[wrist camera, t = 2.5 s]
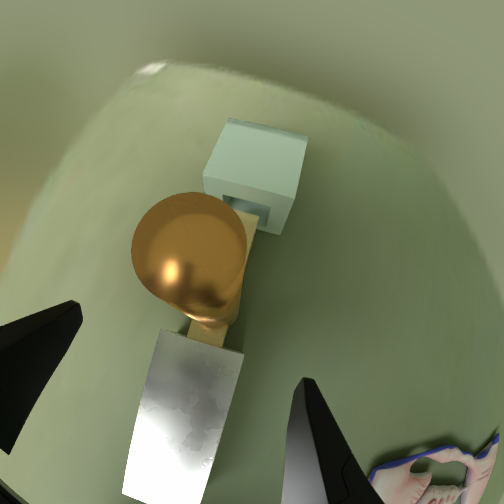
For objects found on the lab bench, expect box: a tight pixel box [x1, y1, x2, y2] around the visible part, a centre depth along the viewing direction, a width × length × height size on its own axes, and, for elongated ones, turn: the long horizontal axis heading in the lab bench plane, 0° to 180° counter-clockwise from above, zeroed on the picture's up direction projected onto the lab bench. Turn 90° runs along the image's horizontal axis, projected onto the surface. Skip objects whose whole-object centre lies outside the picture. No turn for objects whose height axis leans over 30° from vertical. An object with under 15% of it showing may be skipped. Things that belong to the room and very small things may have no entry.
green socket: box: [202, 118, 308, 236], centre depth 20 cm, size 6×6×6 cm
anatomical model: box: [368, 433, 499, 504], centre depth 13 cm, size 20×3×15 cm
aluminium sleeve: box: [122, 329, 244, 504], centre depth 15 cm, size 12×5×5 cm, turn 165°
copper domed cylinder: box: [131, 192, 259, 348], centre depth 12 cm, size 20×3×13 cm, turn 165°
